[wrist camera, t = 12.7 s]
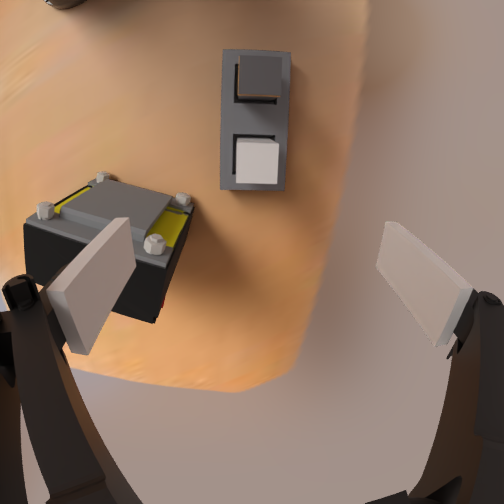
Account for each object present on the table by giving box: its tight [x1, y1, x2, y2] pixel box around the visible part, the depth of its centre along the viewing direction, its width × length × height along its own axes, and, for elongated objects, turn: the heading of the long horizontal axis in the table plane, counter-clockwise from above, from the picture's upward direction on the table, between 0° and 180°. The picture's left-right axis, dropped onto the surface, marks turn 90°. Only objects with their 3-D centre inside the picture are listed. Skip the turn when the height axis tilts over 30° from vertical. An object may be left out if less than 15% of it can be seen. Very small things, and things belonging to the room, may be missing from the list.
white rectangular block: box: [236, 137, 279, 184], centre depth 35 cm, size 5×5×11 cm
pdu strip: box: [220, 49, 291, 191], centre depth 37 cm, size 20×9×4 cm, turn 178°
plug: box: [238, 55, 282, 102], centre depth 31 cm, size 5×5×11 cm
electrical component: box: [23, 171, 195, 324], centre depth 35 cm, size 18×10×20 cm, turn 71°
